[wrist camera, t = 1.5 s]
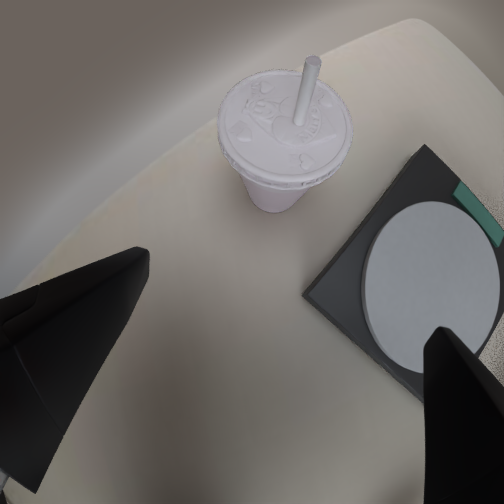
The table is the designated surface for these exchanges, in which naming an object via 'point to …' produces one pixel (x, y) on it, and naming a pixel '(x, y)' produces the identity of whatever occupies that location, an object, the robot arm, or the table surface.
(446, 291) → the scale
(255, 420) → the table surface
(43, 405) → the robot arm
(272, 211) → the smoothie
